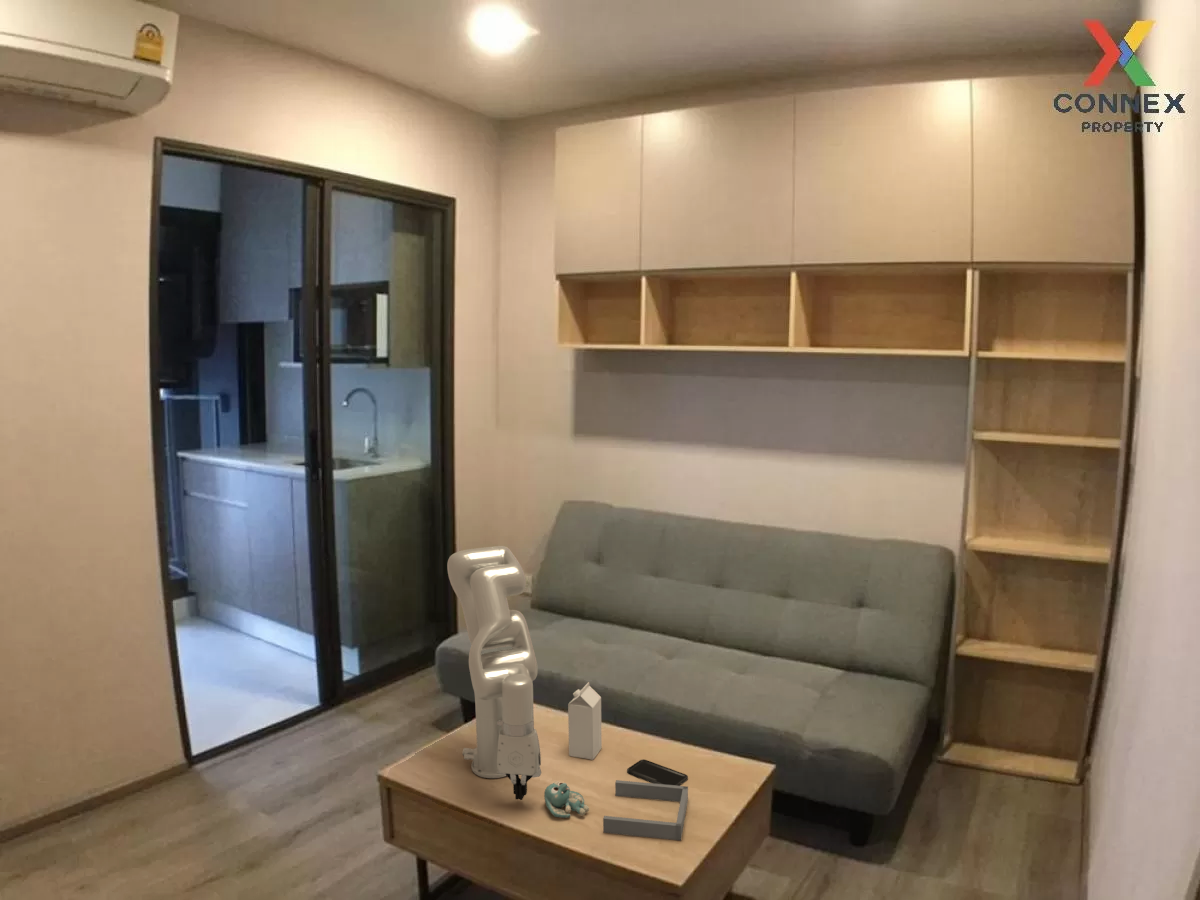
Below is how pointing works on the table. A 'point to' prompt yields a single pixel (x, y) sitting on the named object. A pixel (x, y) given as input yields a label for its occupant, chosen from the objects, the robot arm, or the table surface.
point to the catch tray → (649, 826)
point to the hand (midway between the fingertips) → (520, 796)
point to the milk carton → (585, 723)
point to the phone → (656, 773)
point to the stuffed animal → (563, 800)
